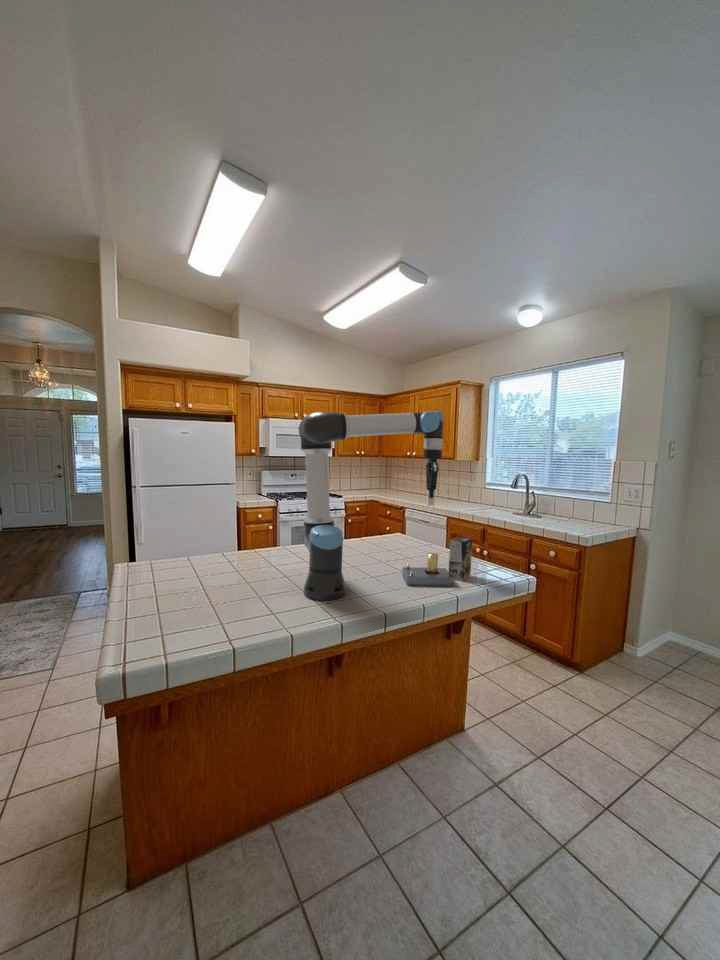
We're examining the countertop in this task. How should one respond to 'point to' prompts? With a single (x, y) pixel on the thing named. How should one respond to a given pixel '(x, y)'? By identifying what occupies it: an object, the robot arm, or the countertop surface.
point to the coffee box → (460, 558)
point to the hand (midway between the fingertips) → (430, 505)
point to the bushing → (432, 563)
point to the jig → (426, 577)
